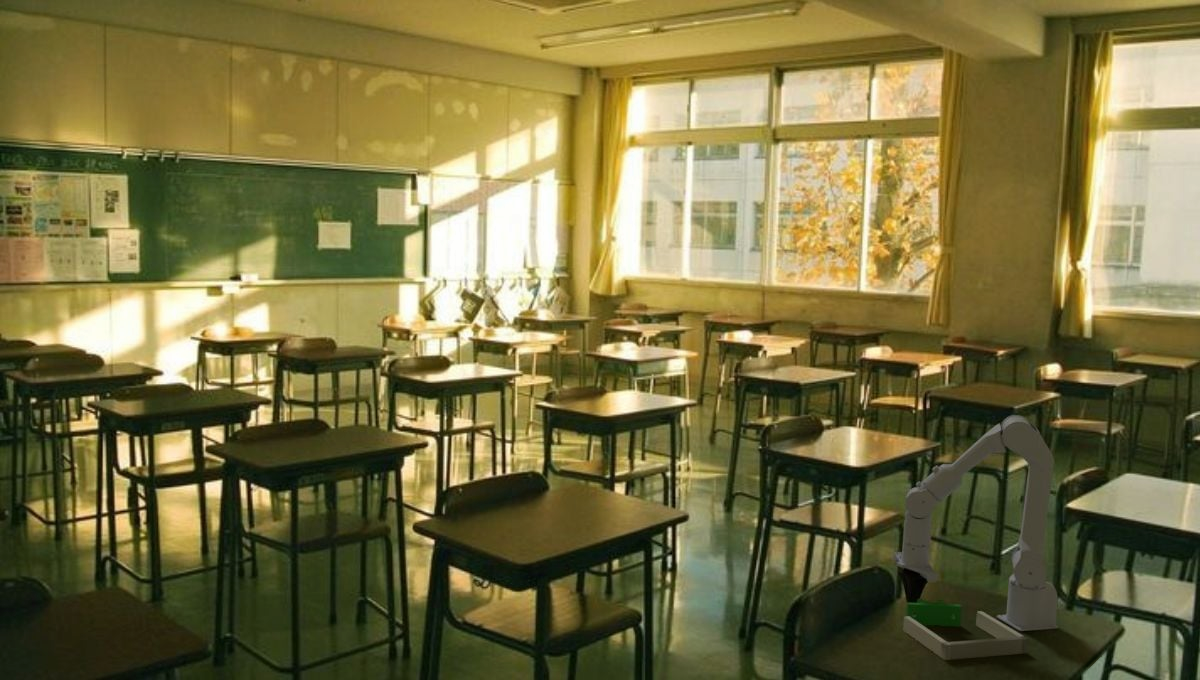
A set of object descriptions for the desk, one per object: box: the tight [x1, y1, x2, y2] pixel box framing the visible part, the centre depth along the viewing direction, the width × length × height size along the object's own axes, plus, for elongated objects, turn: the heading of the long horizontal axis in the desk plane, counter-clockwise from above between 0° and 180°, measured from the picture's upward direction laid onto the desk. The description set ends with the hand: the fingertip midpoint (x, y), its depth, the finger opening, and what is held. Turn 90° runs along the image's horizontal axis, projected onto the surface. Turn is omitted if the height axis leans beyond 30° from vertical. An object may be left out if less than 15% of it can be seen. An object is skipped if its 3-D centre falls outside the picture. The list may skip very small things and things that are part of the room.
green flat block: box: [905, 598, 963, 628], centre depth 215 cm, size 11×4×5 cm, turn 89°
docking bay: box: [902, 610, 1029, 661], centre depth 205 cm, size 18×15×3 cm
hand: (912, 603), depth 223 cm, fingers closed
